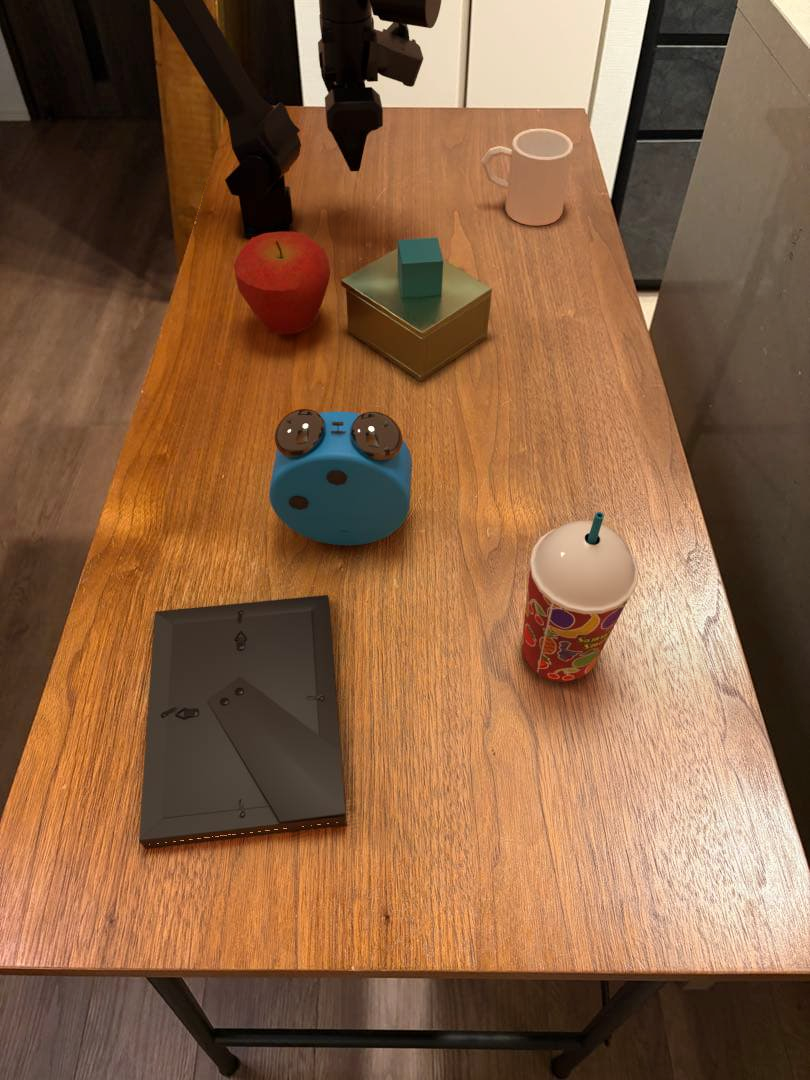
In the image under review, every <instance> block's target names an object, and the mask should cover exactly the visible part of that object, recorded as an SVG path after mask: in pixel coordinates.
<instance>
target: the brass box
mask: <svg viewBox="0 0 810 1080" xmlns="http://www.w3.org/2000/svg"><path fill="white" fill-rule="evenodd" d="M345 296H346V314H347V332H348V333H349V334H350V335H352V336H353V337H355V338H356V339H357V340H359V341H360V342H362V343H363V344H364V345H366V346H368V347H369V348H370V349H372V350H374V351H375V352H377V353H378V354H379V355H381V356H382V357H384V358H385V359H387V360H388V361H389V362H391V363H393V364H394V365H395V366H397V367H399V368H400V369H402V371H404V372H406V373H407V374H408V375H410V376H412V377H413V378H414V379H416V380H417V381H418V382H423V381H424V380H425V379H427V378H429V377H430V376H432V375H433V374H435V373H436V372H437V371H439V370H441V369H442V368H443V367H445V366H446V365H448V364H450V363H451V362H452V361H454V360H455V359H457V358H459V357H460V356H461V355H463V354H464V353H466V352H467V351H469V350H470V349H471V348H473V347H475V346H477V345H478V344H479V343H481V342H482V341H484V340H485V339H487V338H488V334H489V333H488V331H489V324H490V323H489V321H490V311H491V302H492V293H491V294H490V295H489V296H487V297H485V298H484V299H482V300H481V301H479V302H478V303H476V304H475V305H473V306H471V307H470V308H468V309H467V310H465V311H464V312H462V313H461V314H459V315H457V316H456V317H454V318H453V319H451V320H450V321H448V322H446V323H445V324H443V325H442V326H440V327H439V328H437V329H436V330H434V331H432V332H431V333H429V334H428V335H426V336H425V337H423V338H421V337H419V336H418V335H416V334H415V333H413V332H412V331H410V330H409V329H407V328H406V327H404V326H403V325H401V324H400V323H398V322H396V321H395V320H393V319H392V318H390V317H389V316H387V315H386V314H384V313H383V312H381V311H380V310H378V309H377V308H375V307H373V306H372V305H370V304H369V303H367V302H366V301H364V300H363V299H361V298H360V297H358V296H357V295H355V294H354V293H352V292H350V291H349V290H347V289H346V288H345Z"/></svg>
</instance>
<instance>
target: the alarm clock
mask: <svg viewBox="0 0 810 1080" xmlns="http://www.w3.org/2000/svg"><path fill="white" fill-rule="evenodd" d="M274 444H275V447H276V453H275V458H274V463H273V468H272V473H271V479H270V484H269V490H268V491H269V493H268V494H269V501H270V502H269V503H270V506H271V508H272V510H273V512H274V513H275V515H276V516H277V517H278V520H280V521H281V523H283V525H285V526H286V527H287V528H289V529H290V530H292V531H293V532H295V533H296V534H298V535H300V536H302V537H304V538H307V539H309V540H311V541H316V542H318V543H321V544H327V545H333V546H360V545H366V544H370V543H375V542H378V541H380V540H382V539H385V538H387V537H388V536H390V535H392V534H394V533H395V532H396V531H397V530H398V529H399V528H400V527H402V525H403V524H404V522H405V521H406V519H407V517H408V514H409V512H410V507H411V493H412V491H411V490H412V473H413V460H412V455H411V452H410V449H409V447H408V445H407V443H406V442H405V440H404V439H403V434H402V430H401V428H400V427H399V425H398V424H397V422H396V421H395V420H394V419H393V418H392V417H390V416H389V415H387V414H385V413H382V412H380V411H367V412H363V413H357V412H352V411H339V410H338V411H337V410H336V411H324V412H319V413H318V412H317V411H315V410H313V409H311V408H310V409H308V408H301V409H300V408H299V409H295V410H293V411H291V412H289V413H288V414H287V415H285V416H284V417H283V418H282V419H281V420H280V421H279V423H278V425H277V426H276V429H275V433H274Z"/></svg>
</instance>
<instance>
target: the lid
mask: <svg viewBox="0 0 810 1080" xmlns="http://www.w3.org/2000/svg"><path fill="white" fill-rule="evenodd" d="M340 285H341V286H342V288H344V289H345V290H346V289H347V290H349V291H350V292H352V293H354V294H355V295H357V296H358V297H360V298H361V299H363V300H364V301H366V302H367V303H369V304H370V305H372V306H373V307H375V308H377V309H378V310H380V311H381V312H383V313H384V314H386V315H387V316H389V317H390V318H392V319H393V320H395V321H396V322H398V323H400V324H401V325H403V326H404V327H406V328H407V329H409V330H410V331H412V332H413V333H415V334H416V335H418V336H419V337H421V338H423V337H425V336H426V335H428V334H429V333H431V332H432V331H434V330H436V329H437V328H439V327H440V326H442V325H443V324H445V323H446V322H448V321H450V320H451V319H453V318H454V317H456V316H457V315H459V314H461V313H462V312H464V311H465V310H467V309H468V308H470V307H471V306H473V305H475V304H476V303H478V302H479V301H481V300H482V299H484V298H485V297H487V296H489V295H490V294H491V295H492V293H493V288H492V287H491V286H489V285H487V284H486V283H484V282H482V281H481V280H479V279H477V278H476V277H474V276H472V275H470V274H469V273H467V272H465V271H464V270H462V269H460V268H458V267H457V266H456V265H453V264H452V263H450V262H448V261H447V260H445V259H443V278H442V295H441V296H426V297H411V298H402V295H401V290H400V284H399V279H398V247H397V248H395V249H394V250H392V251H390V252H388V253H386V254H384V255H383V256H381V257H379V258H378V259H376V260H374V261H371V262H370V263H368V264H367V265H365V266H364V267H361V268H360V269H358V270H356V271H354V272H353V273H351V274H349V275H347V276H346V277H344V278H342V279H341V280H340Z"/></svg>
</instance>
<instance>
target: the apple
mask: <svg viewBox="0 0 810 1080" xmlns="http://www.w3.org/2000/svg"><path fill="white" fill-rule="evenodd" d="M233 269H234V274H235V275H234V276H235V280H236V284H237V289H238V292H239V293H240V294H241V296H242V298H243V299H244V301H245V302H246V303H247V305H248V306H249V308H250V310H251V311H252V312H253V314H254V316H256V318H257V319H258V321H259V322H260V323H261V324H262V326H263V327H264V328H266V330H268V331H269V332H271V333H276V334H281V335H285V336H286V335H293V334H296V333H299V332H301V331H304V330H305V329H308V328H309V327H310V326H311V325H312V324H313V323H314V322H315V320H316V318H317V315H318V314H319V311H320V309H321V307H322V304H323V302H324V298H325V295H326V292H327V289H328V286H329V282H330V277H331V267H330V259H329V257H328V255H327V252H326V251H325V249H324V248H323V247H322V246H321V245H319V244H318V243H317V242H315V241H314V240H313V239H312V238H310V237H309V236H308V235H306V234H304V233H301V232H296V231H291V232H272V233H264V234H261V235H259V236H256V237H251V238H250V239H249V240H248V242H246V244H245V245H243V247H242V249H241V250H240V251H239V252H238V254H237V255H236V258H235V261H234V262H233Z"/></svg>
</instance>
